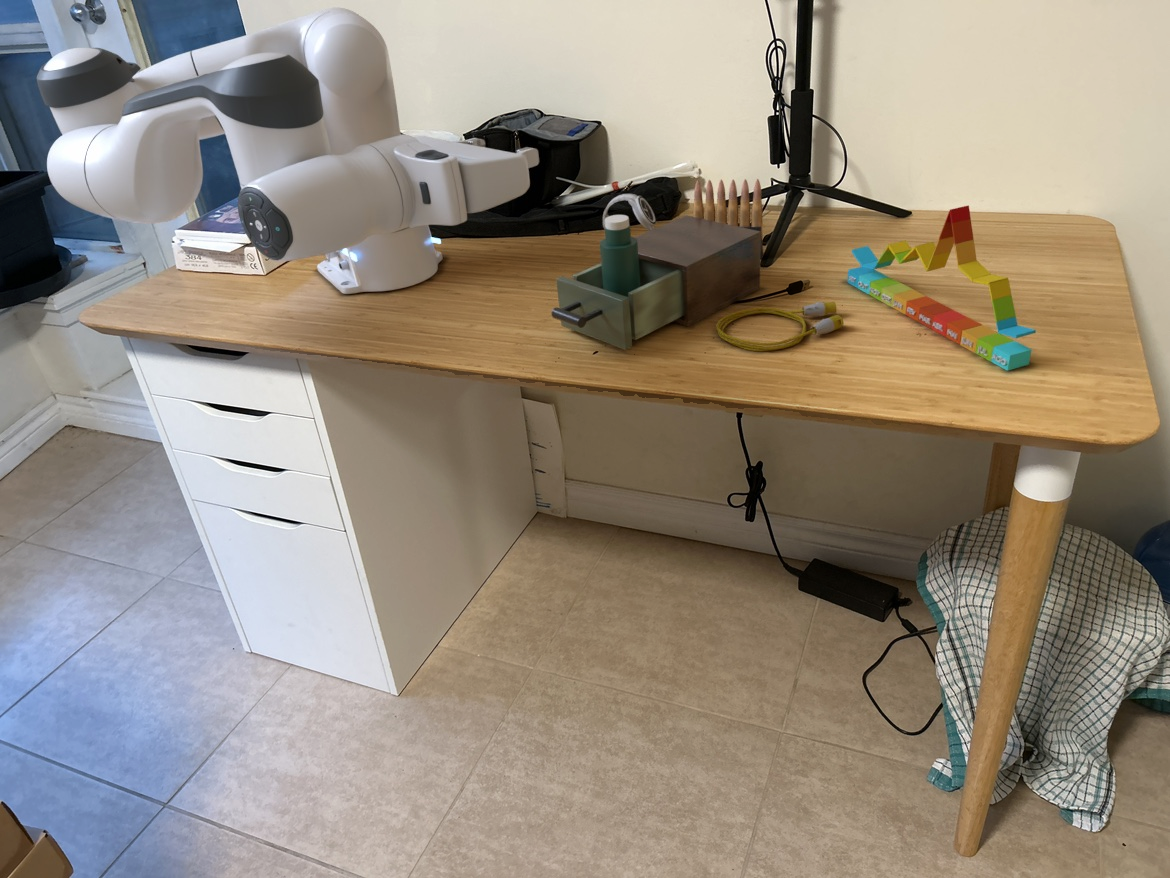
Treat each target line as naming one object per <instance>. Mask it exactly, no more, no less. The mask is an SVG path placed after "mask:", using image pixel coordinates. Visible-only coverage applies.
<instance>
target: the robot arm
mask: <svg viewBox="0 0 1170 878" xmlns="http://www.w3.org/2000/svg"><path fill="white" fill-rule="evenodd" d="M140 70H141V66H140V65H138V64H137V63H136V62H130V61H129V62H127V61H126V60H124V58H122V57H121V56H120V55H119V54H117V53H114V52H112V51H110V50H107V49H105V48H102V47H74V48H73V47H72V48H69V49H65V50H63V51H61V52H58V53H57V54H55V55H54V56H53V57H52V58H50V59H49V60H48V61H47V62H45V63H44V64H43V65H41V67H40V69H39V71H38V73H37V75H36V83H37V87H38V90H39V92H40V95H41V98H42V101H43V103H44V105H45V106H46V107H48V108H49V109H50V112H51V114H52V116H53V118H54V122H55V123H56V125H57V128H58V129H59V131H60V134H62V135H60V136H59V137H58V138H57V139H56V140H54V142H53V143H52V145H51V147H50V148H49V151H48V154H47V158H46V168H47V174H48V177H49V181H50V183H51V184H52V186H53V188H54V189H55V191H56V192H57V193H58V194H59V195H60V196H61V197H62V198H63V199H64V200H66V202H68V203H70V204H71V205H72V206H73V205H74V206H75V207H77V208H79V209H82V210H84V211H86V212H89V213H91V214H94V215H97V216H100V217H103V218H107V219H111V220H115V221H122V222H128V223H134V224H144V225H150V224H151V225H152V224H161V223H163V224H164V223H167V222H172V221H175V220H176V219H178V218H180V217H181V216H183V215H184V214H185V213H187V211H189V209H191V207H192V206H193V205H194V203H195V202H196V201H197V199H198V196H199V194H200V192H201V188H202V184H203V180H204V179H203V178H204V168H203V160H202V152H201V145H200V140H201V141H202V140H206V139H211V138H215V137H218V136H223V135H225V137H226V140H227V144H228V148H229V150H230V154H231V158H232V161H233V164H234V168H235V171H236V174H237V177H238V181H239V186H240V191H239V193H238V197H237V214H238V217H239V221H240V224H241V226H242V229H243V231H244V233H245V235H246V237H247V238H248V240H249V241H250V243H251V244H252V245H253V247H254V248H255V249H256V250H257V251H258V252H259V253H261V255H263V256H264V257H265V258H266V259H269V260H272V261H274V262H290V261H299V260H304V259H309V258H314V257H318V256H323V255H324V256H325V258H326V259H324V260H322V261H321V262H320V263H318V264H317V266H316V267H317V272H319V274H321V276H323V277H324V278H325V279H326V280H327V281H328V282H329V283H330V284H331V285H332V286H334V288H336V289H337V290H338V291H339V292H341V293H342V294H344V295H351V294H357V293H363V292H365V293H366V292H387V291H394V290H399V289H404V288H407V287H411V286H414V285H418V284H420V283H422V282H424V281H427V280H429V279H430V278H431V277H433V276H434V275H435V274H437V272H438V269H439V263H440V262H442V261H443V259H444V258H443V253H442V252H441V251H438V250H436V248H435V244H438V245H440V244H442V241H441V238H438V237H432V232H431V230H430V226H450V227H451V226H452V227H453V226H457V225H460V224H463V223H465V222H467V221H468V214H474V213H480V212H484V211H487V210H489V209H492V208H495V207H497V206H500V205H503V204H505V203H508V202H511V201H512V200H515V199H517V198H518V197H519V198H520V197H521V196H523V195H524V194H526V193H527V191H528V190H529V189H530V186H531V179H530V171H529V169H530V168H534V167H536V166H538V165H539V164H540V157H539V150H538V149H537V148H535V147H534V148H533V147H528V146H525V147H522V148H519V149H516V152H511V151H505V150H500V149H495V148H490V147H486V141H485V140H484V139H483V138H478V137H472V138H469V139H464V140H462V139H461V140H447V139H441V138H437V137H436V138H435V137H430V136H426V135H416V136H412V135H410V134H406V133H404V134H403V133H401V127H400V120H399V111H398V105H397V97H396V93H395V92H396V91H395V85H394V78H393V72H392V67H391V60H390V55H389V49H388V46H387V44H386V41H385V39H384V38H383V35H382V34H381V32H379V30H378V29H377V28H376V26H374V25H373V24H372V23H371V22H370V21H368V20H367V19H366V18H364V17H363V16H361V15H360V14H359V13H356V12H355V11H354V10H351V9H348V8H346V7H345V8H344V7H328V8H325V9H322V10H318V11H314V12H312V13H309V14H306V15H302V16H299V17H296V18H293V19H290V20H286V21H284V22H281V23H277V24H275V25H272V26H269V27H266V28H264V29H260V30H257V31H255V32H252V33H249V34H246V35H242V36H239V37H236V38H231V39H229V40H225V41H224V40H223V41H221V42H217V43H214V44H210V45H206V46H204V47H200V48H197V49H193V50H190V51H186V52H183V53H180V54H177V55H174V56H171V57H169V58H167V59H164V60H162V61H159V62H157V63H155V64H152V65H151V66H148V67H146V68H145V69H142V70H141V71H140Z"/></svg>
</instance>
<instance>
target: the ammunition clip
mask: <svg viewBox="0 0 1170 878" xmlns="http://www.w3.org/2000/svg"><path fill="white" fill-rule="evenodd" d="M730 182H731V183H730V186H729V189H728V190H729V192H728V205H727V199H726V188H725V183H724V181H723V179H720V180H719V182H718V187H717V193H716V194H717V199H716V206H715V193H714V187H713V182H712V181H711V179H708V180H707V184H706V188H705V203H704V200H703V190H702V185H701V182H700V180H699V179H697V180H696V182H695V187H694V194H693V197H694V199H693V208H692V217H697V218H701V219H706V220H710V221H715V222H719V223H724V224H729V225H733V226H738V227H742V228H747V229H751V230H756V231H761V236H760V237H761V250H760V260H762V259H763V257H764V244H763V243H764V241H763V238H764V237H763V217H764V216H763V215H764V214H763V212H764V211H763V210H764V209H763V204H762V203H763V202H762V186H761V182H760V180H759V178H756V180H755V183H754V186H753V191H752V192H753V193H752V205H751V204H750V203H751V202H750V189H749V183H748V180H747V179H744V180H743V181H742V185H741V192H740V194H741V195H740V204H739V203H738V189H737V185H736V181H735V179H733V178H732V180H731V181H730ZM704 204H705V205H704Z"/></svg>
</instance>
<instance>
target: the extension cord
mask: <svg viewBox="0 0 1170 878" xmlns="http://www.w3.org/2000/svg"><path fill="white" fill-rule="evenodd" d="M801 313H802V315H803V316H808V317H818V318H819V317H824V316H826V315H832V316H830V317H826V318H822V319H821V320H820V321H817V323H814V325H812V326H811V327H810V330H808V331H807V325H806V321H805V319H804V317H802V316H800V315H798V314H801ZM836 313H837V304H836V302H835V301H830V302H829V301H828V302H825V301H821V302H818V301H816V302H815V303H812V304H808V305H805V306H802V309H799V310H783V309H780V308H777V307H766V306H765V307H751V308H747V309H742V310H738V311H733V312H732V313H729V314H727V315H725V316H723V317H721V318H720V319H719V320H718V321H717V322H716V324H715V328H716V330H717V335H718V336H719V337H720V338H721V339H722V340H724V341H726V342H727V343H729V344H730V345H733V346H735V347H738V348H740V349H743V350H748V351H751V352H752V351H754V352H769V351H777V350H783V349H787V348H790V347H792V346H795V345H797V344H799V343H800V342H801V341H802V340H803V339H804V337H805V336H807V335H810V334H813V335H816V336H817V335H824V334H825V335H828V334H829V333H831V332H833V331H837V330H839V329H841V328H843V326H844V324H845V323H844V319H843V318H842V317H841V316H840V315H839V314H836ZM756 314H772V315H777V316H781V317H785V318H788V319H790V320H794V321H796V322H798V323H800V324H801V325H802V331H801V333H800V334H797V335H795V336H793V337H790V338H787V339H784V340H780V341H775V342H760V341H759V342H758V341H750V340H746V339H741V338H737V337H734V336H731V335H730V334H727V333H725V332H724V330H725V328H726V327H727V326H728V325H729V324H730V323H733V321H736V320H737V319H740V318H743V317H746V316H751V315H756ZM834 314H836V315H834Z"/></svg>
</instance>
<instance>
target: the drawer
mask: <svg viewBox="0 0 1170 878" xmlns="http://www.w3.org/2000/svg"><path fill="white" fill-rule="evenodd" d="M638 259H639V275H640V287H639V288H637V289H635V290H633V291H631V292H629V293H628V297H626V296H623V295H620V294H617V293H613V292H610V291H607V290H604V289H603V277H602V266H601V262H600V263H598V264H595V265H593V266H591V267H589V268H586V269H584V270H582V271H580V272H578V273H575V274H572V278H571V277H566V276H563V275H562V276H560V277H557V278H556V280H555V281H556V289H557V290H556V291H557V299H558V307H554V308H553V309H552V310H551V317H552V318H553V319H556V320H558V321H560V325H561V326H562V327H564V328H566V329H569V330H572V331H574V332H578V333H579V334H582V335H585V336H588V337H590V338H593V339H596V340H598V341H601V342H604V343H606V344H609V345H611V346H614V347H617V348H620V349H622V350H624V351H627V350H629V349H631V348H633V340H635V341H636V340H637V341H638V340H639V339H641V338H643V337H644V336H647V335H648V334H650V333H652V332H654V331H656V330H658V329H660V328H662V327H665V326H666V325H668V324H670V323H672V322H673V321H674V320H676V319H678V318H680V317H682V316H683V315H684V293H683V270H680V269H676V268H672V267H669V266H665V265H662V264H658V263H654V262H651V261H647V260H643V259H640V258H638Z"/></svg>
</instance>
